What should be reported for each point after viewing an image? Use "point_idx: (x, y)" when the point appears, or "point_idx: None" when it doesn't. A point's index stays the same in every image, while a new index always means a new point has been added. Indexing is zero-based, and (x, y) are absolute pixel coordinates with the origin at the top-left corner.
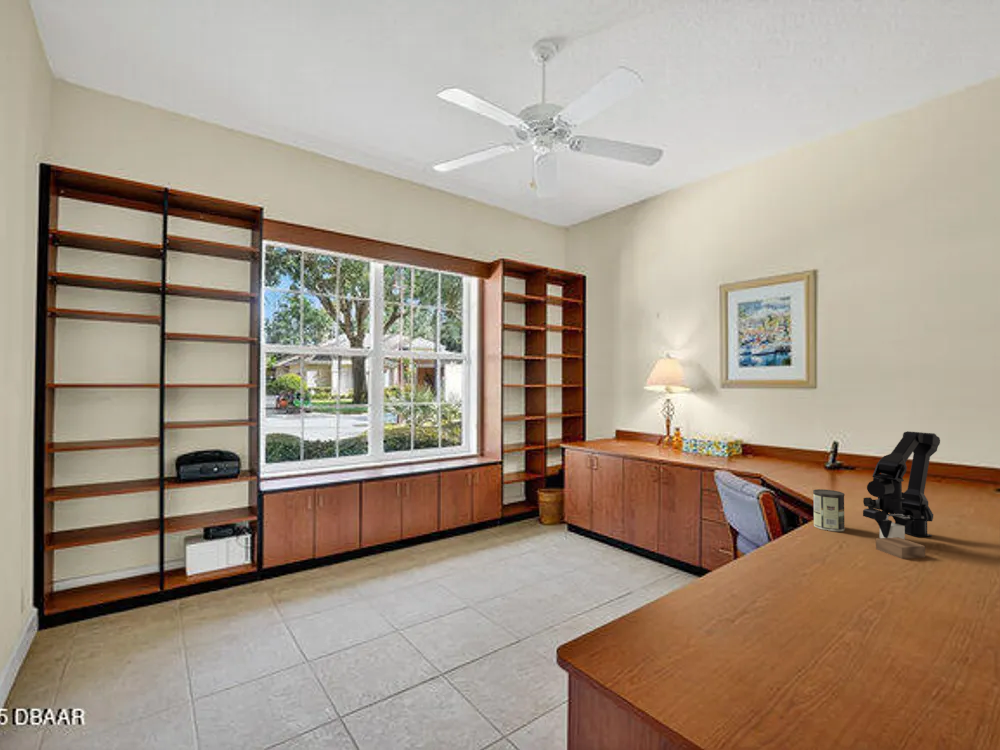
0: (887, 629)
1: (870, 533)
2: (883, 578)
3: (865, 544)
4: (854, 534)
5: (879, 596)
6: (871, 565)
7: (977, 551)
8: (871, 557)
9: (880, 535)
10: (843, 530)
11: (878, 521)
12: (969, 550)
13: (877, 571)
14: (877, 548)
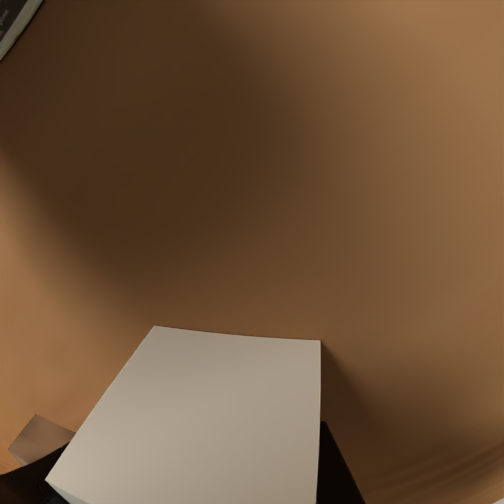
0: (3, 473)
1: (215, 113)
2: (14, 463)
3: (11, 363)
4: (18, 157)
5: (3, 464)
6: (4, 440)
7: (495, 493)
8: (9, 428)
9: (138, 360)
10: (2, 54)
11: (7, 494)
12: (487, 492)
13: (10, 453)
14: (35, 423)
